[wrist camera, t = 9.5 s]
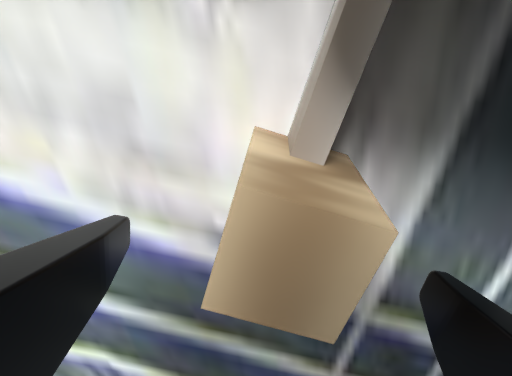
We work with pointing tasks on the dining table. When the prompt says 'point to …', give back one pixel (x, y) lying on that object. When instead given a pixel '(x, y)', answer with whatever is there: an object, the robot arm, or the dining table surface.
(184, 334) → the dining table surface
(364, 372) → the dining table surface
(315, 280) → the wooden mallet
